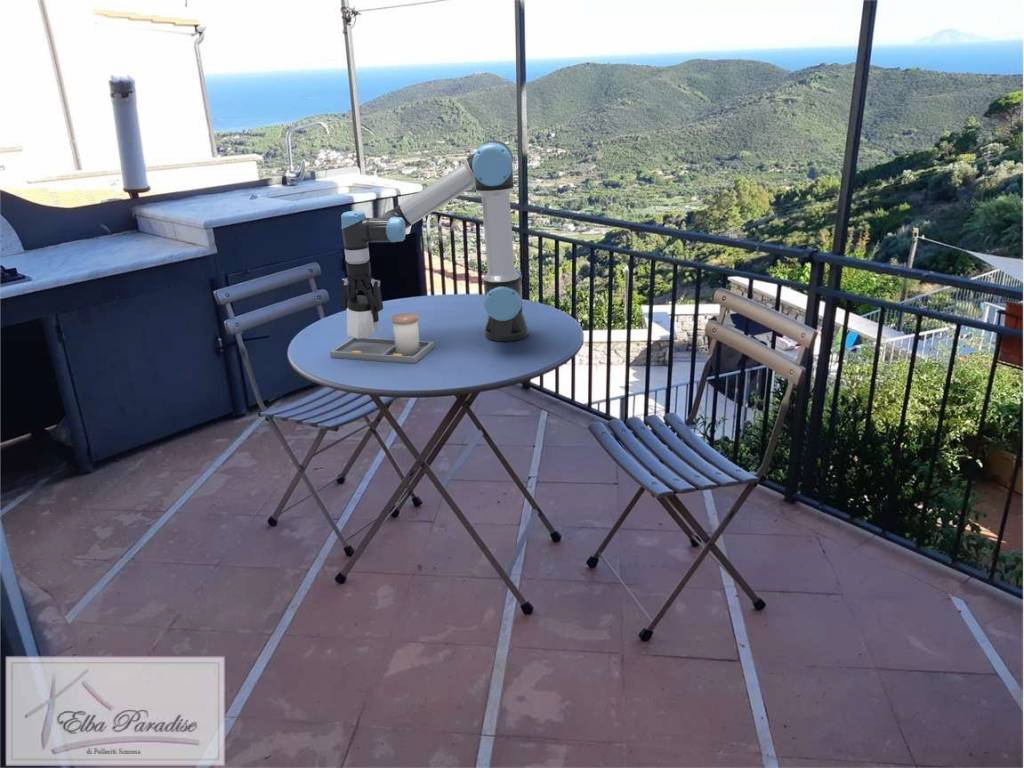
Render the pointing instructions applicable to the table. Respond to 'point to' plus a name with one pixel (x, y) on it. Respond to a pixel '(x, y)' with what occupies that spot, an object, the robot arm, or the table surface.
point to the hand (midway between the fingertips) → (365, 330)
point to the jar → (358, 317)
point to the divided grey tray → (378, 350)
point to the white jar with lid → (406, 334)
